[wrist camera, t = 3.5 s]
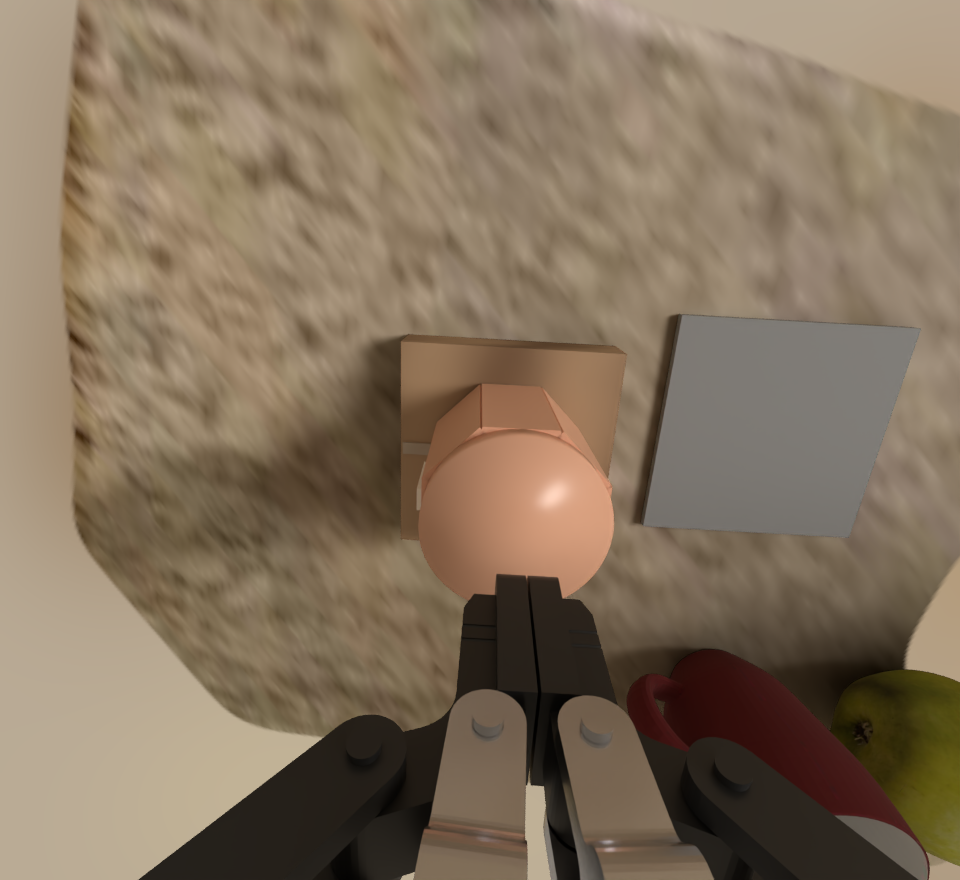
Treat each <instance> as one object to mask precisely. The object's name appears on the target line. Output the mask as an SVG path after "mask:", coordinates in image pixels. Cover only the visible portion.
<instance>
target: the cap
mask: <svg viewBox="0 0 960 880" xmlns="http://www.w3.org/2000/svg"><path fill="white" fill-rule="evenodd" d="M611 493H612V485H611V484H610V482H609V480H608V478H607V477H606V475H605V473H604V472H603V470H602V468H601V466H600V465H599V463H598V461H597V459H596V458H595V456H594V454H593V453H592V451H591V449H590V447H589V446H588V444H587V442H586V441H585V439H584V437H583V435H582V434H581V432H580V430H579V429H578V428H577V426H576V425H575V424H574V423H573V422H572V421H571V420H570V418H569V417H568V416H567V415H566V414H565V413H564V412H563V410H562V409H561V408H560V407H559V406H558V405H557V404H556V402H555V401H554V400H553V399H552V398H551V397H550V396H549V394H548V393H547V392H546V391H545V390H544V389H543V388H541V387H539V386H520V385H501V384H482V386H481V385H480V384H479V385H478V386H477V387H476V388H475V389H474V390H473V391H471V392H470V393H469V394H468V395H467V396H466V397H465V398H464V399H462V400H461V401H460V402H459V403H458V404H457V405H456V406H454V407H453V408H452V409H451V410H450V411H449V412H448V413H446V414H445V415H444V416H443V417H442V418H441V419H440V420H438V421H437V423H436V426H435V430H434V434H433V438H432V441H431V445H430V449H429V453H428V456H427V460H426V462H424V464H423V468H422V472H421V475H420V479H419V482H418V486H417V510H420V512H419V521H418V530H419V539H420V544H421V548H422V551H423V553H424V556H425V558H426V560H427V562H428V564H429V566H430V568H431V569H432V570H433V572H434V573H435V574H436V576H437V577H438V578H439V579H440V580H441V581H442V582H443V583H444V584H445V585H446V586H447V587H448V588H450V589H451V590H452V591H453V592H455V593H456V594H458V595H460V596H461V597H463V598H465V599H467V600H470V598H471V597H472V596H473V594H488V595H495V582H496V574H511V575H526V579H527V576H528V575H530V576H547V577H558V579H559V583H560V588H561V593H562V598H565V597H567V596H569V595H570V594H572V593H574V592H575V591H577V590H578V589H579V588H581V587H582V586H583V585H584V584H585V583H586V582H587V581H588V580H589V579H590V578H591V577H592V576H593V575H594V574H595V573H596V571H597V570H598V569H599V567H600V566H601V564H602V563H603V561H604V559H605V557H606V555H607V553H608V550H609V548H610V545H611V541H612V537H613V530H614V512H613V507H612V502H611Z"/></svg>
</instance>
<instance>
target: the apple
mask: <svg viewBox="0 0 960 880" xmlns="http://www.w3.org/2000/svg"><path fill="white" fill-rule="evenodd" d="M830 732H831V733H832V734H833V735H834V736H835V737H836V738H837V739H838V740H839V741H840V742H841V743H842V744H843V745H844V746H845V747H846V748H847V749H848V750H849V751H850V752H851V753H852V754H853V755H854V756H855V757H856V759H857V760H858V761H859V762H860V763H861V764H862V765H863V766H864V767H865V768H866V770H867V771H868V772H869V773H870V774H871V776H872V777H873V778H874V779H875V781H876V782H877V783H878V784H879V785H880V787H881V788H882V789H883V791H884V792H885V794H886V795H887V796H888V798H889V799H890V800H891V802H892V803H893V804H894V806H895V807H896V808H897V810H898V811H899V813H900V814H901V815H902V817H903V818H904V820H905V821H906V823H907V824H908V825H909V827H910V828H911V830H912V831H913V833H914V834H915V835H916V837H917V838H918V840H919V841H920V843H921V844H922V846H923V848H924V849H925V851H926V852H928V853H930V854H932V855H934V856H936V857H938V858H940V859H943V860H945V861H948V862H950V863H953V864H955V865H958V866H960V682H958V681H955V680H953V679H950V678H947V677H945V676H941V675H937V674H934V673H929V672H924V671H917V670H893V671H886V672H881V673H877V674H873V675H870V676H866V677H864V678H861V679H858V680H856V681H855V682H853V683H852V684H850V685H849V686H848V687H847V688H846V689H845V690H844V691H843V693H842V695H841V696H840V698H839V700H838V703H837V706H836V708H835V711H834V716H833V722H832V726H831V730H830Z"/></svg>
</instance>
